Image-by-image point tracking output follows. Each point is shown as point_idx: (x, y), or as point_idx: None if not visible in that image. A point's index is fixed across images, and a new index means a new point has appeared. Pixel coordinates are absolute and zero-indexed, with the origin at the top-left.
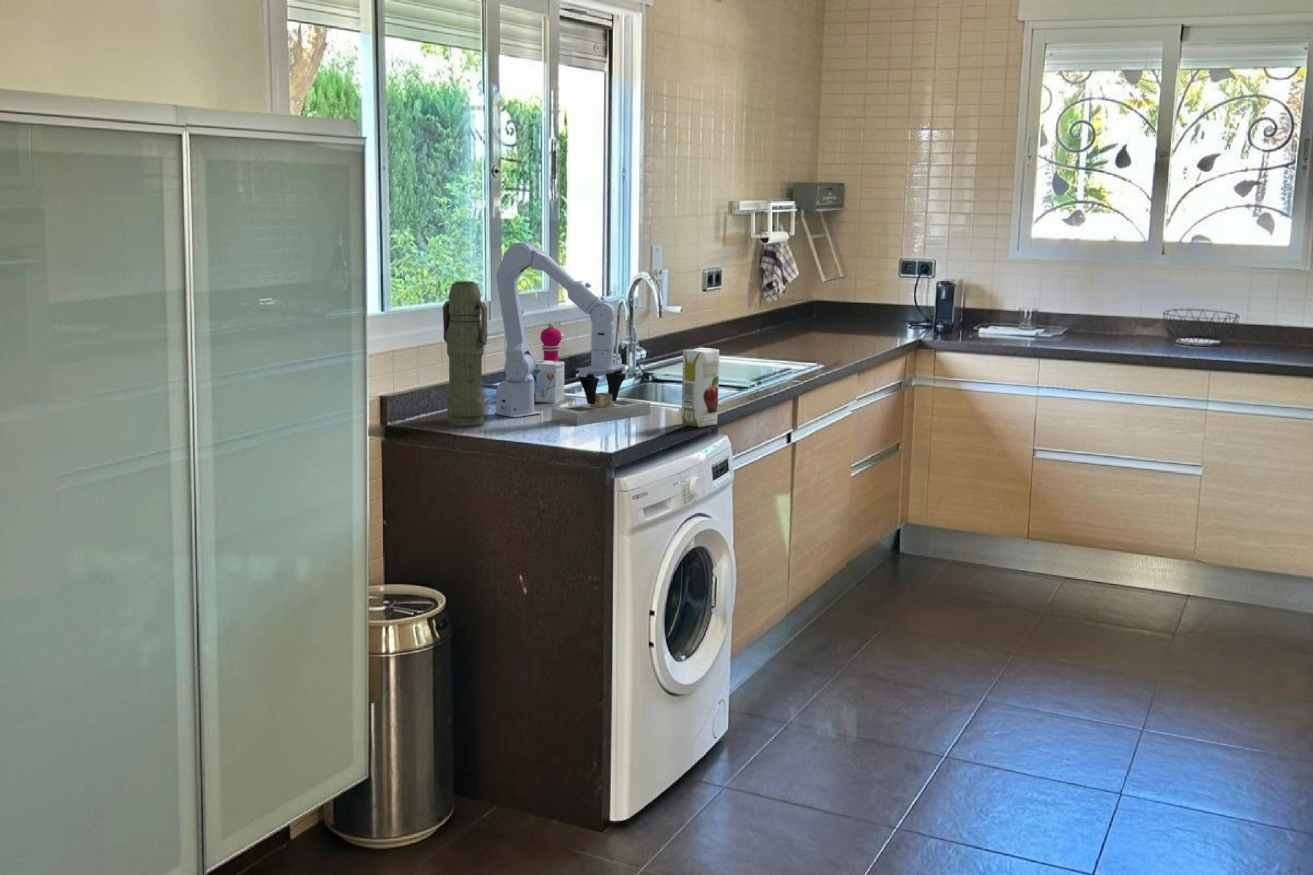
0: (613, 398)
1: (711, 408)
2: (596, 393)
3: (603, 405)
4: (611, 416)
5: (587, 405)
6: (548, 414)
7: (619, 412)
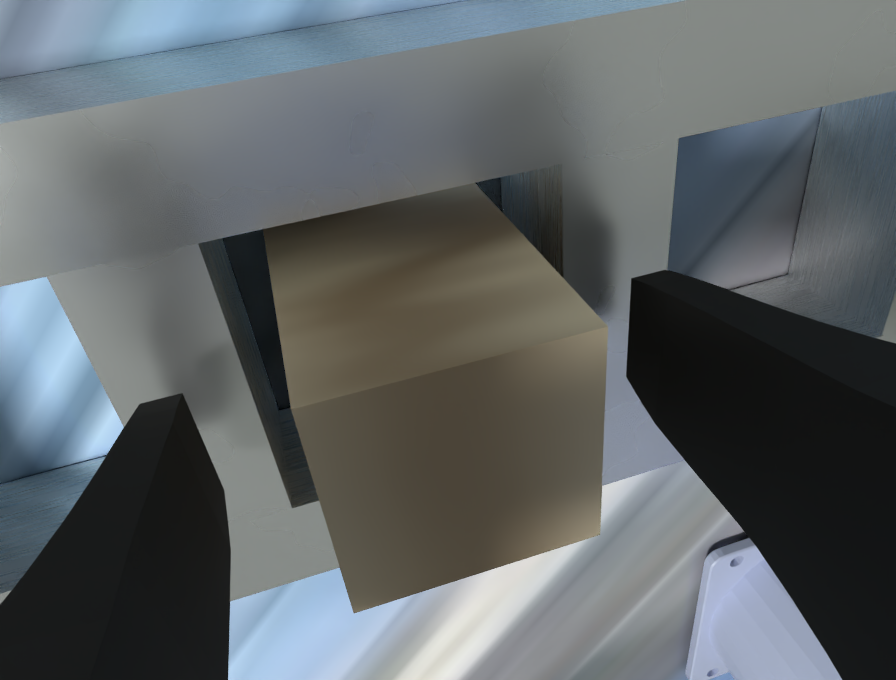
0: (188, 444)
1: None
2: (481, 563)
3: (473, 259)
4: (410, 22)
5: None
6: (668, 537)
7: (231, 59)
